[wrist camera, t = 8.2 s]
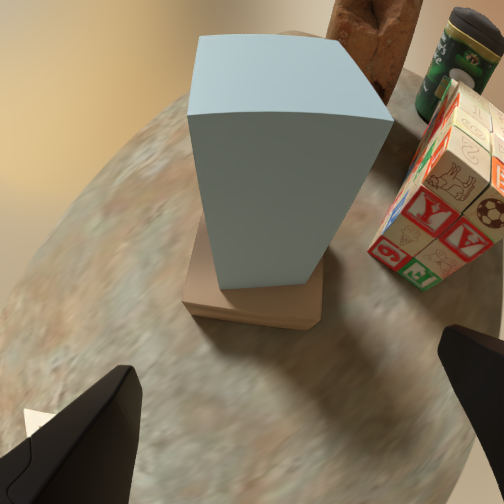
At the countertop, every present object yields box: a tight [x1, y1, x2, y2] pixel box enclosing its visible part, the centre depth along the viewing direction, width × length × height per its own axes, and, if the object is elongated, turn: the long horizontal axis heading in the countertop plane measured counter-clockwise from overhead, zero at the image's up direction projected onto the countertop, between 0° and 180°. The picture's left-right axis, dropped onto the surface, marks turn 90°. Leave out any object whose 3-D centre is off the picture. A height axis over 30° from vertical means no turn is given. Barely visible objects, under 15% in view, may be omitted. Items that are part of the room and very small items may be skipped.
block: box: [326, 0, 423, 106], centre depth 20 cm, size 11×8×20 cm
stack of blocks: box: [367, 79, 504, 292], centre depth 20 cm, size 21×6×12 cm, turn 144°
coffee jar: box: [415, 7, 504, 123], centre depth 24 cm, size 10×8×19 cm
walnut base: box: [182, 210, 324, 331], centre depth 19 cm, size 8×8×4 cm
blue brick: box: [187, 34, 394, 290], centre depth 12 cm, size 5×5×12 cm
